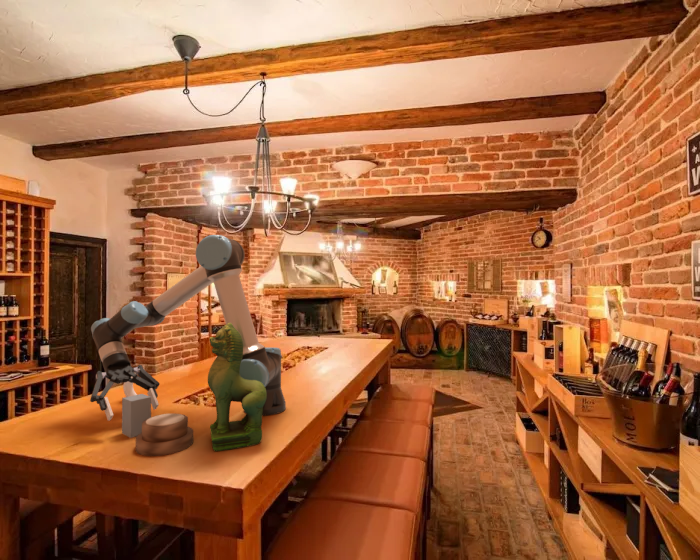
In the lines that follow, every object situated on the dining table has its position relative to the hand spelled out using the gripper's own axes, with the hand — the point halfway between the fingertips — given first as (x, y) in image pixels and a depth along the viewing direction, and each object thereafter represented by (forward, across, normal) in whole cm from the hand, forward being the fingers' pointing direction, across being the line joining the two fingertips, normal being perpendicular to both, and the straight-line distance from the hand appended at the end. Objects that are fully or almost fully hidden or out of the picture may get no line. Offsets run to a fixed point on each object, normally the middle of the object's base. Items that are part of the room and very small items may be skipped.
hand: (134, 412), depth 123 cm
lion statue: (+26, -16, +17) cm, 35 cm away
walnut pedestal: (+16, -1, +8) cm, 18 cm away
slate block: (+5, 0, -4) cm, 6 cm away
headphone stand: (-21, -16, -30) cm, 40 cm away
